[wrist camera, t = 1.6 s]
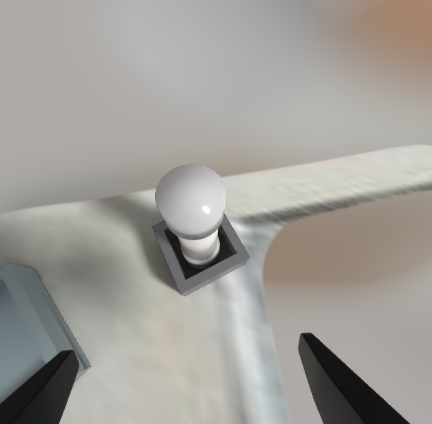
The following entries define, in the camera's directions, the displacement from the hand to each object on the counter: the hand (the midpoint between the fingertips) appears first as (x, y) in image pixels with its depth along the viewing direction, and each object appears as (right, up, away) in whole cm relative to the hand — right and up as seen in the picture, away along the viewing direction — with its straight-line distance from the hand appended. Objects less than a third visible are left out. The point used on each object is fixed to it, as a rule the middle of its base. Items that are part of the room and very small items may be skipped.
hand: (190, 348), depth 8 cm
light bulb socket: (-1, +1, +15) cm, 15 cm away
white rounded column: (-1, +1, +15) cm, 15 cm away
